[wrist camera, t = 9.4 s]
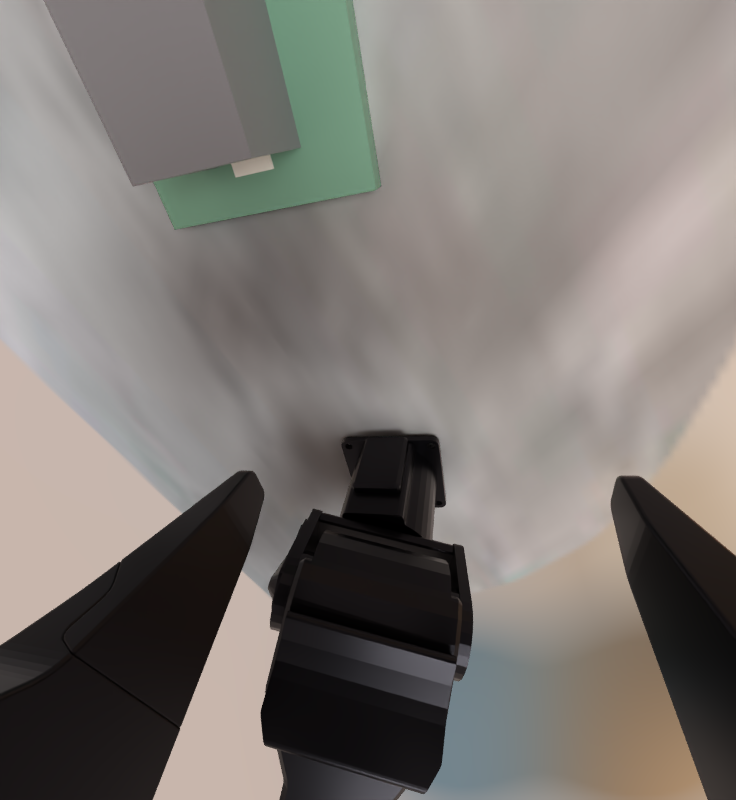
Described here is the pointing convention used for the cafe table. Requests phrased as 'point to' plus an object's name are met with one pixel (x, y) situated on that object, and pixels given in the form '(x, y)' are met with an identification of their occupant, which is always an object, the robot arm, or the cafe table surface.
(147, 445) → the cafe table surface
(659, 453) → the cafe table surface
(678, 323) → the cafe table surface
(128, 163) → the plug housing
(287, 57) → the board
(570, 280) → the cafe table surface
